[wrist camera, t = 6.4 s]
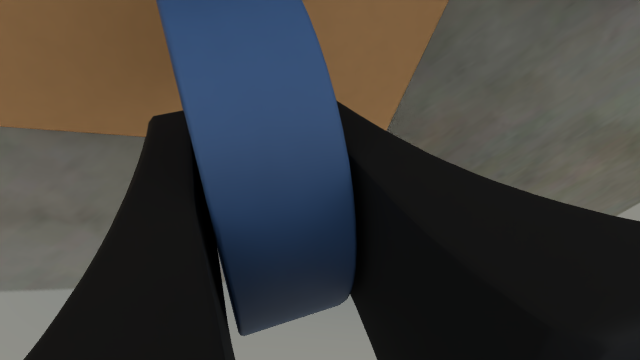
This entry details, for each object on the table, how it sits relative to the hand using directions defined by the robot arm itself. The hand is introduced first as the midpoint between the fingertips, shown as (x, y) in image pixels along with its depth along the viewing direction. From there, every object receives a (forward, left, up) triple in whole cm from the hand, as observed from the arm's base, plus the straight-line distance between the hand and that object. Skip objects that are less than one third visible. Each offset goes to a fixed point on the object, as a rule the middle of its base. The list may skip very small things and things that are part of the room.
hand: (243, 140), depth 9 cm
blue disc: (0, 0, 0) cm, 0 cm away
